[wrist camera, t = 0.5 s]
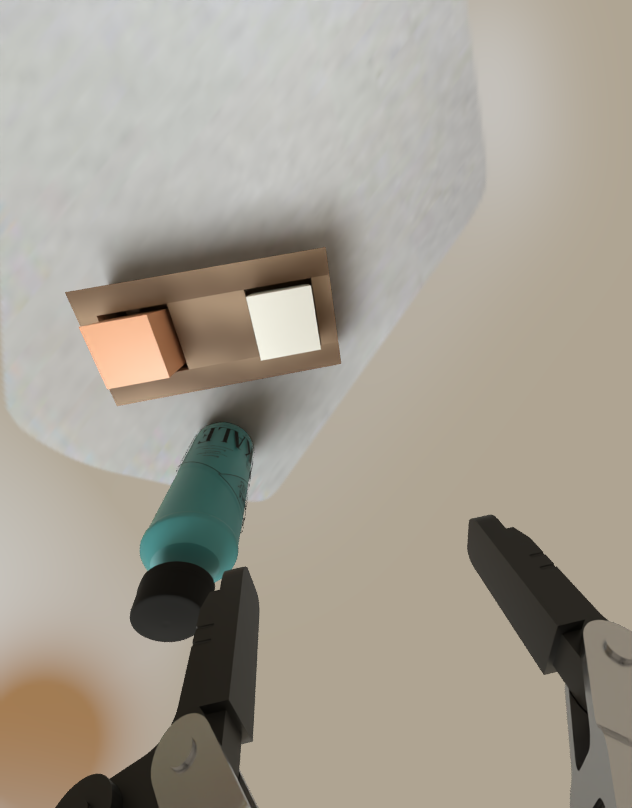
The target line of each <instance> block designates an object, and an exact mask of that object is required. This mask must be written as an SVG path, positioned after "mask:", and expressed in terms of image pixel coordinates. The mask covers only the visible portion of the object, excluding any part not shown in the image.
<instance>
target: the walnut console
mask: <svg viewBox="0 0 632 808" xmlns="http://www.w3.org/2000/svg"><path fill="white" fill-rule="evenodd" d="M301 284H308V285H311V289H312V296H313V302H314V308H315V315H316V321H317V327H318V334H319V340H320V346H321V350H315V351H310V352H305V353H299V354H294V355H289V356H283V357H278V358H273V359H267V360H262V361H261V358H260V354H259V350H258V346H257V341H256V337H255V333H254V329H253V325H252V321H251V316H250V312H249V308H248V304H247V300H246V297H247V296H248V295H250V294H251V293H256V292H261V291H267V290H273V289H278V288H284V287H289V286H295V285H301ZM65 293H66V296H67V298H68V300H69V302H70V304H71V307H72V309H73V311H74V313H75V315H76V318H77V320H78V322H79V324H80V326H84V325H88V324H92V323H96V322H100V321H104V320H108V319H112V318H116V317H121V316H127V315H132V314H138V313H144V312H149V311H155V310H160V309H166V308H168V309H169V312H170V315H171V318H172V321H173V324H174V327H175V330H176V333H177V336H178V339H179V341H180V344H181V347H182V350H183V353H184V356H185V359H186V363H185V364H184V365H183V366H182V367H181V368H180V369H178V370H177V371H176V372H175V373H174V374H173V375H172V376H171V377H170V378H166V379H160V380H155V381H150V382H144V383H139V384H133V385H128V386H123V387H117V388H112V389H109V390H110V392H111V394H112V396H113V398H114V401H115V403H116V405H117V406H120V405H125V404H131V403H136V402H141V401H147V400H152V399H157V398H162V397H168V396H173V395H178V394H184V393H189V392H194V391H199V390H205V389H210V388H215V387H221V386H226V385H231V384H236V383H242V382H247V381H252V380H258V379H263V378H268V377H273V376H279V375H284V374H289V373H295V372H300V371H305V370H310V369H316V368H321V367H326V366H332V365H337V364H341V359H340V351H339V344H338V336H337V329H336V321H335V314H334V306H333V299H332V291H331V284H330V276H329V269H328V261H327V254H326V247H323V248H317V249H311V250H306V251H300V252H294V253H288V254H283V255H277V256H271V257H265V258H260V259H254V260H248V261H242V262H237V263H231V264H225V265H219V266H214V267H208V268H202V269H196V270H191V271H185V272H179V273H173V274H168V275H162V276H156V277H151V278H145V279H139V280H133V281H128V282H122V283H116V284H110V285H105V286H99V287H93V288H87V289H82V290H76V291H70V292H65Z"/></svg>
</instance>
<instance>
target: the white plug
mask: <svg viewBox="0 0 632 808" xmlns="http://www.w3.org/2000/svg"><path fill="white" fill-rule="evenodd" d="M246 300H247V304H248V308H249V312H250V316H251V321H252V325H253V329H254V333H255V337H256V341H257V346H258V350H259V354H260V358H261V361H262V360H267V359H273V358H278V357H283V356H289V355H294V354H299V353H305V352H310V351H315V350H321V346H320V340H319V334H318V327H317V321H316V315H315V308H314V302H313V296H312V289H311V285H308V284H301V285H295V286H289V287H284V288H278V289H273V290H267V291H261V292H256V293H251V294H250V295H248V296H247V297H246Z"/></svg>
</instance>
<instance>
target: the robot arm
mask: <svg viewBox="0 0 632 808" xmlns="http://www.w3.org/2000/svg"><path fill="white" fill-rule="evenodd" d="M467 549H468V555H469V558H470V560H471V563H472V565H473V566H474V568H475V570H476V571H477V573H478V574H479V576H480V577H481V579H482V580H483V582H484V583H485V585H486V586H487V588H488V590H489V591H490V592H491V594H492V596H493V597H494V599H495V600H496V602H497V603H498V605H499V606H500V608H501V609H502V611H503V613H504V614H505V616H506V617H507V619H508V620H509V622H510V623H511V625H512V627H513V628H514V630H515V631H516V632H517V634H518V636H519V637H520V639H521V640H522V642H523V643H524V645H525V646H526V648H527V649H528V651H529V653H530V654H531V656H532V657H533V659H534V660H535V662H536V663H537V665H538V666H539V668H540V670H541V671H542V672H543V674H544V675H545V674H550V673H554V672H558V673H559V675H560V676H561V678H562V679H563V681H564V682H565V698H566V709H567V722H568V734H569V746H570V758H571V773H572V774H571V776H572V778H571V779H572V780H571V790H570V808H632V631H630V630H628V629H627V628H625V627H623V626H621V625H619V624H616V623H614V622H610V621H608V620H607V619H606V618H604V617H603V616H602V615H601V614H600V613H599V612H598V611H597V610H596V609H595V608H594V606H593V605H592V604H591V603H590V602H589V601H588V600H587V599H586V598H585V597H584V596H583V595H582V593H581V592H580V591H579V590H578V589H577V588H576V587H575V586H574V585H573V584H572V583H571V582H570V580H569V579H568V578H567V577H566V576H565V575H564V574H563V573H562V572H561V571H560V570H559V569H558V568H557V567H555V566H554V563H553V562H552V561H551V560H550V559H549V558H548V557H547V556H546V555H544V554H543V551H542V550H541V549H540V548H539V547H538V546H537V545H536V544H535V543H534V542H533V541H532V540H531V539H530V538H529V537H528V536H526V535H525V534H523V533H522V532H520V531H518V530H517V529H515V528H514V527H512V528H507V529H506V528H505V527H504V526H503V525H502V523H501V522H500V521H499V520H498V519H497V518H496V517H495V516H493V515H487V516H482V517H477V518H473V519H470V520H469V529H468V545H467ZM258 628H259V600H258V595H257V592H256V589H255V586H254V584H253V581H252V578H251V576H250V573H249V571H248V568H247V567H241V568H236V569H231V570H227V571H224V573H223V576H222V581H221V587H220V590H217V591H212V592H210V593H209V594H208V596H207V598H206V600H205V601H204V603H203V605H202V607H201V608H200V612H199V616H198V621H197V625H196V631H195V634H194V639H193V646H192V647H191V652H190V656H189V661H188V665H187V670H186V674H185V678H184V683H183V687H182V692H181V696H180V701H179V705H178V709H177V712H176V715H175V718H174V720H173V722H172V724H171V726H170V727H169V728H168V730H167V731H166V732H165V734H164V735H163V737H162V738H161V740H160V742H159V743H158V744H157V746H156V747H154V748H153V749H152V750H151V751H150V752H149V753H148V754H146V755H145V756H144V757H142V758H141V759H139V760H138V761H136V762H135V763H133V764H132V765H130V766H129V767H127V768H125V769H124V770H122V771H121V772H119V773H118V774H116V775H115V776H113V777H112V778H110V779H108V778H107V777H106V776H105V775H102V774H93V775H90V776H87V777H85V778H84V779H82V780H81V781H79V782H78V783H77V784H75V785H74V786H73V787H72V788H71V789H70V790H69V791H68V792H67V793H66V795H65V796H64V797H63V798H62V799H61V801H60V802H59V803H58V805H57V806H56V807H55V808H258V806H257V804H256V802H255V800H254V798H253V796H252V794H251V792H250V790H249V788H248V786H247V784H246V782H245V780H244V778H243V775H242V774H241V771H240V769H239V765H240V752H241V744H244V743H248V742H252V741H253V725H254V706H255V687H256V667H257V649H258V630H259V629H258Z"/></svg>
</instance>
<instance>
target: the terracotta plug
mask: <svg viewBox="0 0 632 808" xmlns="http://www.w3.org/2000/svg"><path fill="white" fill-rule="evenodd" d="M79 329H80V331H81V333H82V335H83V337H84V340H85V342H86V344H87V346H88V348H89V350H90V353H91V355H92V357H93V359H94V361H95V364H96V366H97V368H98V370H99V372H100V374H101V377H102V379H103V381H104V383H105V385H106V387H107V389H112V388H117V387H123V386H128V385H133V384H139V383H144V382H150V381H155V380H160V379H166V378H170V377H171V376H172V375H173V374H174V373H175V372H176V371H177V370H178V369H180V368H181V367H182V366H183V365H184V364H185V363H186V359H185V356H184V353H183V350H182V347H181V344H180V341H179V339H178V336H177V333H176V330H175V327H174V324H173V321H172V318H171V315H170V312H169V309H168V308H166V309H160V310H155V311H149V312H144V313H138V314H132V315H127V316H121V317H116V318H112V319H108V320H104V321H100V322H96V323H92V324H88V325H84V326H80V327H79Z"/></svg>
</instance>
